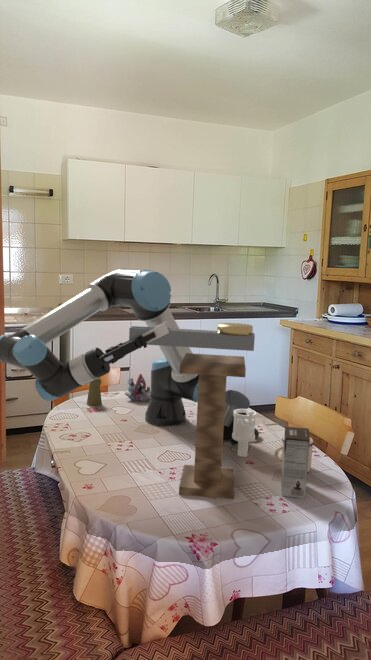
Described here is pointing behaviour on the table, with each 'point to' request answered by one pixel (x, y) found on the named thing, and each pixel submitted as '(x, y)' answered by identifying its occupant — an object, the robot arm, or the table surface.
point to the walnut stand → (210, 425)
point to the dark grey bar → (204, 337)
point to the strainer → (243, 429)
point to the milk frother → (232, 403)
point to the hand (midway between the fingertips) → (167, 326)
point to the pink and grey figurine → (138, 390)
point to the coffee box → (295, 462)
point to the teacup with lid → (282, 453)
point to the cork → (94, 393)
